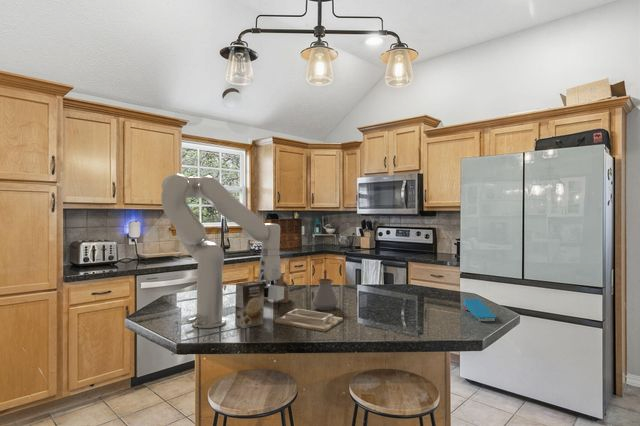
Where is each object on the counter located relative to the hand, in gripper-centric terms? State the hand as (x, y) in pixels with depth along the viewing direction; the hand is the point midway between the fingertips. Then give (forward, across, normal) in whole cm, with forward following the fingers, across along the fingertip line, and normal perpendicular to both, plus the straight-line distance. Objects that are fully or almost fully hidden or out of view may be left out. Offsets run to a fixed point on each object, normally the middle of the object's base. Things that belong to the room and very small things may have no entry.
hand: (268, 295), depth 159 cm
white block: (+1, 0, 0) cm, 1 cm away
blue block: (+5, +45, -77) cm, 89 cm away
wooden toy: (+8, +21, +12) cm, 26 cm away
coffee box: (+9, -14, -2) cm, 16 cm away
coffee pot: (+7, +26, -14) cm, 30 cm away
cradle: (+8, +1, -20) cm, 21 cm away
